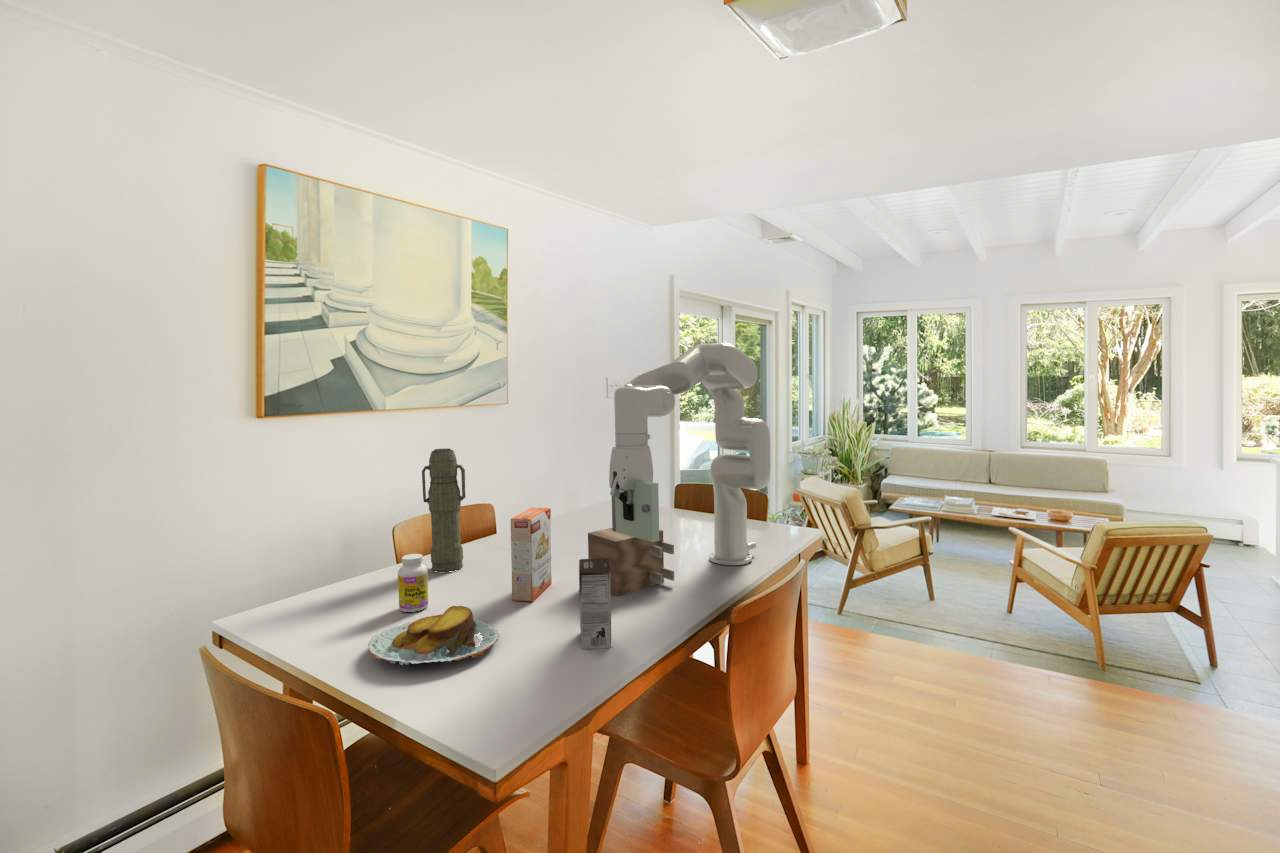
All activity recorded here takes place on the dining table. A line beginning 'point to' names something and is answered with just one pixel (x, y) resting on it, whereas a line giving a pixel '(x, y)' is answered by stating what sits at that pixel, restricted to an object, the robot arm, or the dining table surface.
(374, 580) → the dining table surface
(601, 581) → the coffee box
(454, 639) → the food on plate
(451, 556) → the thermos
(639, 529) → the door
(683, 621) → the dining table surface
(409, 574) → the supplement bottle
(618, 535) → the cabinet
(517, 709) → the dining table surface
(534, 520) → the cracker box
